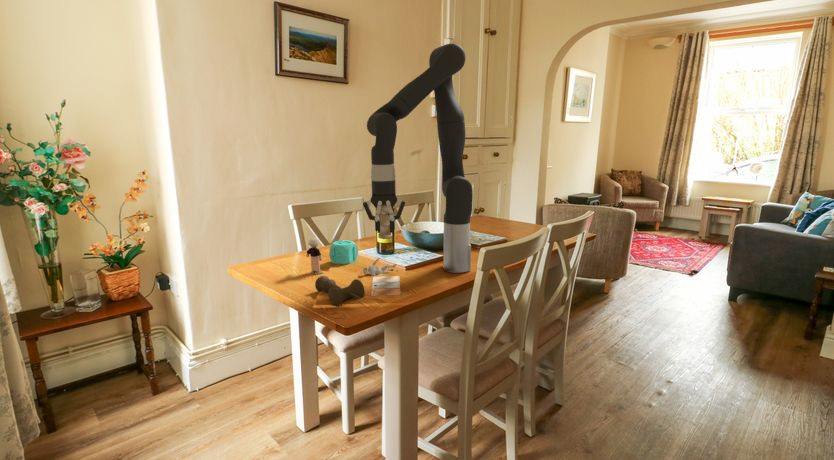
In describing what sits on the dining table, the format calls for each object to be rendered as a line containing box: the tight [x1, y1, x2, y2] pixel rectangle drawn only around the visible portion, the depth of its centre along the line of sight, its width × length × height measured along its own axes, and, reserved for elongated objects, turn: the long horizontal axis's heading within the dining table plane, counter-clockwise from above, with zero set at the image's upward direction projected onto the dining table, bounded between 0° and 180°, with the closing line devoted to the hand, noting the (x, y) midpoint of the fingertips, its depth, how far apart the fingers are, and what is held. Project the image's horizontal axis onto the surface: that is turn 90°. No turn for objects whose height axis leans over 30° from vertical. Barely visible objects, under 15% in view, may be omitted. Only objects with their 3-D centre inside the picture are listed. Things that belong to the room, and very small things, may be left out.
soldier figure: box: [363, 257, 399, 277], centre depth 153 cm, size 8×5×12 cm
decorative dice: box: [329, 239, 359, 265], centre depth 168 cm, size 8×8×8 cm
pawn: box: [378, 205, 393, 240], centre depth 143 cm, size 4×4×11 cm
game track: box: [370, 275, 401, 297], centre depth 141 cm, size 10×18×1 cm, turn 3°
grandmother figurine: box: [306, 237, 324, 275], centre depth 156 cm, size 8×4×13 cm, turn 65°
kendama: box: [314, 275, 366, 307], centre depth 133 cm, size 6×10×20 cm
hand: (385, 231), depth 143 cm, fingers closed on pawn, 3 cm apart
